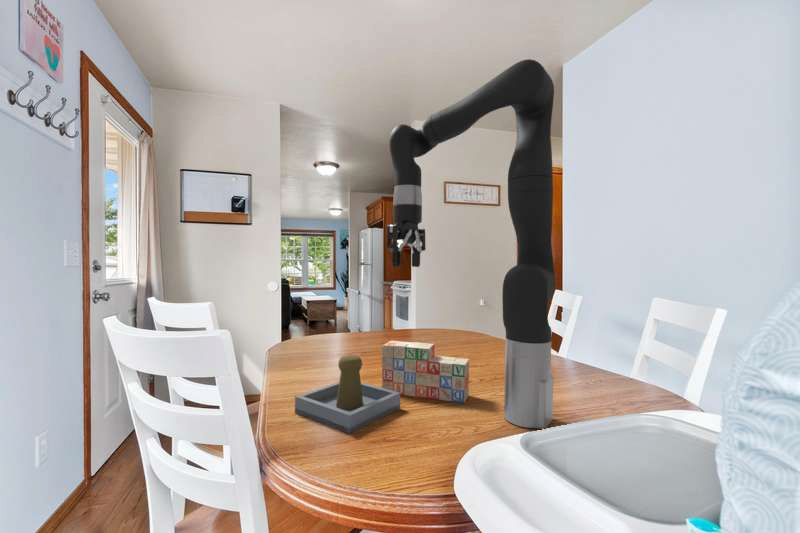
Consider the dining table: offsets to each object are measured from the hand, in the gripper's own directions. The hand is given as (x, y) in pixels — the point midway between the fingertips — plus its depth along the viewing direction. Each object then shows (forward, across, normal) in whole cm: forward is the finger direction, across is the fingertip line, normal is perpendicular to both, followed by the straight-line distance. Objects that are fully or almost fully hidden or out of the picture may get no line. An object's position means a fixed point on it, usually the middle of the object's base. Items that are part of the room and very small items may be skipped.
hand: (406, 266), depth 100 cm
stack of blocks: (+32, 0, -6) cm, 33 cm away
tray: (+32, -20, +1) cm, 38 cm away
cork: (+31, -20, +1) cm, 37 cm away
